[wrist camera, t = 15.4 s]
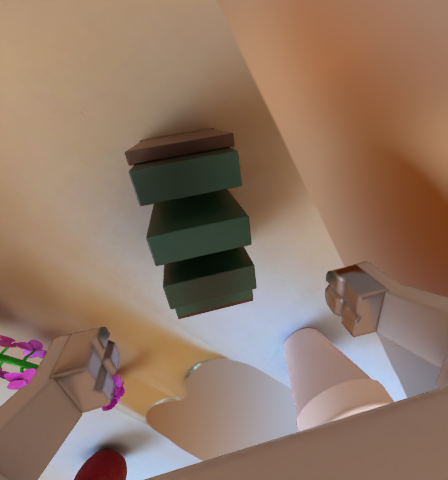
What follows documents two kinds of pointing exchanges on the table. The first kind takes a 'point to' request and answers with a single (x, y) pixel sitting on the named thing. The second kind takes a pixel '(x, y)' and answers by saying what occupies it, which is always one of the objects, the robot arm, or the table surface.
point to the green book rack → (184, 185)
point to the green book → (197, 227)
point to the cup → (327, 381)
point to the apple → (103, 467)
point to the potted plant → (26, 376)
